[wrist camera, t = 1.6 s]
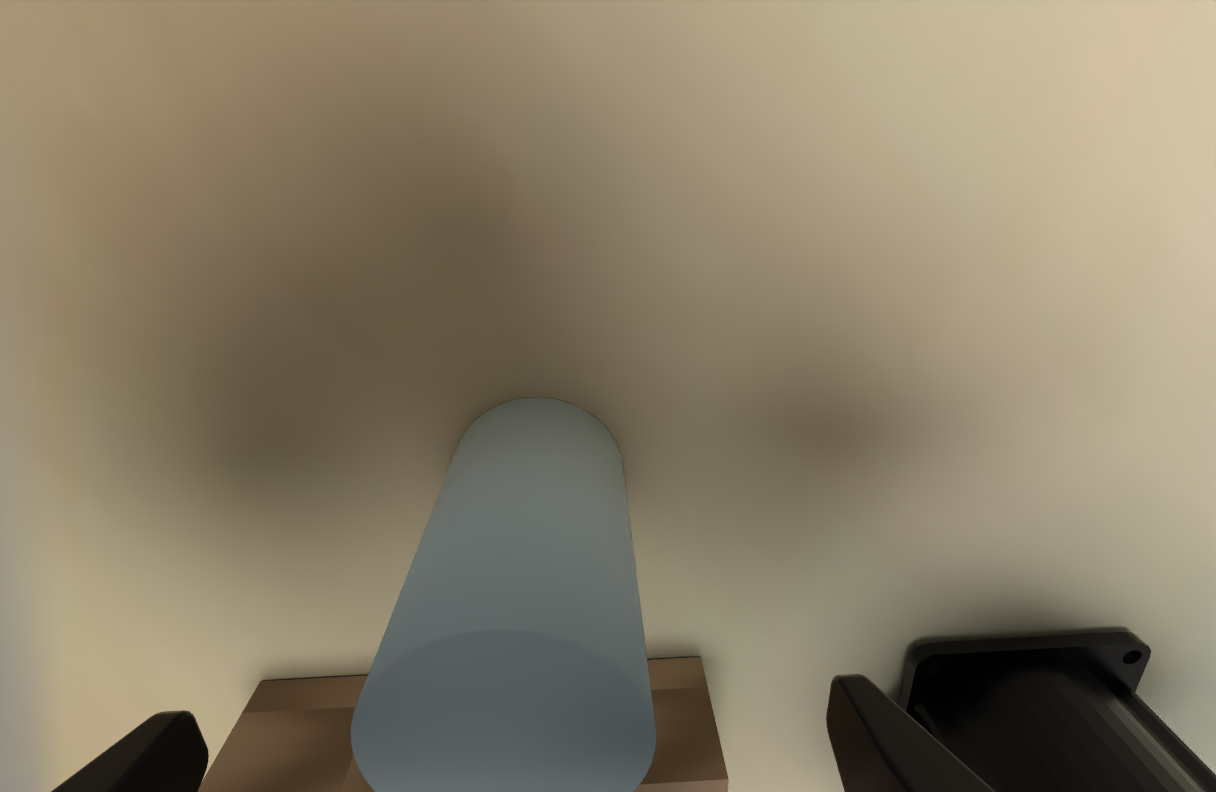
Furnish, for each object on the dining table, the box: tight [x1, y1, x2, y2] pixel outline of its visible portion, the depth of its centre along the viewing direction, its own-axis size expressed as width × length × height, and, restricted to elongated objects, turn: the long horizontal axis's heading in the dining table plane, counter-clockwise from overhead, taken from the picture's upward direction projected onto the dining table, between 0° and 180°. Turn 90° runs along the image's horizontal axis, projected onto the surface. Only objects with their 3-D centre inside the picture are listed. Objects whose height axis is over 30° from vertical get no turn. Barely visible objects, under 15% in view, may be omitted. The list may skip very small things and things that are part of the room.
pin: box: [351, 397, 656, 792], centre depth 11 cm, size 4×4×7 cm
